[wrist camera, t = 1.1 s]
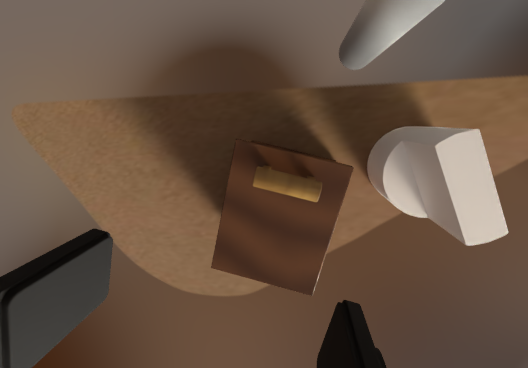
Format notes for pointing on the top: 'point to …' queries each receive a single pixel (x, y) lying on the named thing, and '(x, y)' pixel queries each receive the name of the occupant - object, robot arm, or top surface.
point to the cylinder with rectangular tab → (440, 180)
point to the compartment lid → (279, 215)
